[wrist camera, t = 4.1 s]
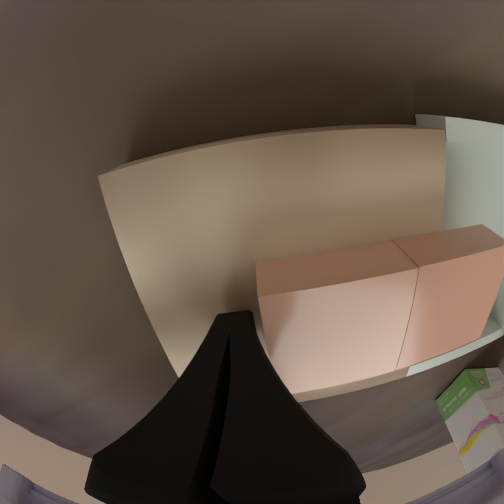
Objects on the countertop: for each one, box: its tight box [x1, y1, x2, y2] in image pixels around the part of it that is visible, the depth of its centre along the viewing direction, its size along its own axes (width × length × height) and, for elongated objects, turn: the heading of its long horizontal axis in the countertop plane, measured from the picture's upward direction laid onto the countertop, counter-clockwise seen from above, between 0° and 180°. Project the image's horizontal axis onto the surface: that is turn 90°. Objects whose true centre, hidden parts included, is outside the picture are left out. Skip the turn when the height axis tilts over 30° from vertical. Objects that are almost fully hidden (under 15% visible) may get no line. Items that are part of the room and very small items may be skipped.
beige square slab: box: [98, 124, 446, 402], centre depth 12 cm, size 13×12×2 cm
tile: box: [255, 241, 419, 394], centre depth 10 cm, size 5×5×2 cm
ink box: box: [435, 368, 504, 474], centre depth 13 cm, size 9×5×15 cm, turn 72°
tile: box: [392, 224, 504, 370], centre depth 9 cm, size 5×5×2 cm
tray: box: [406, 114, 504, 376], centre depth 11 cm, size 14×9×2 cm
